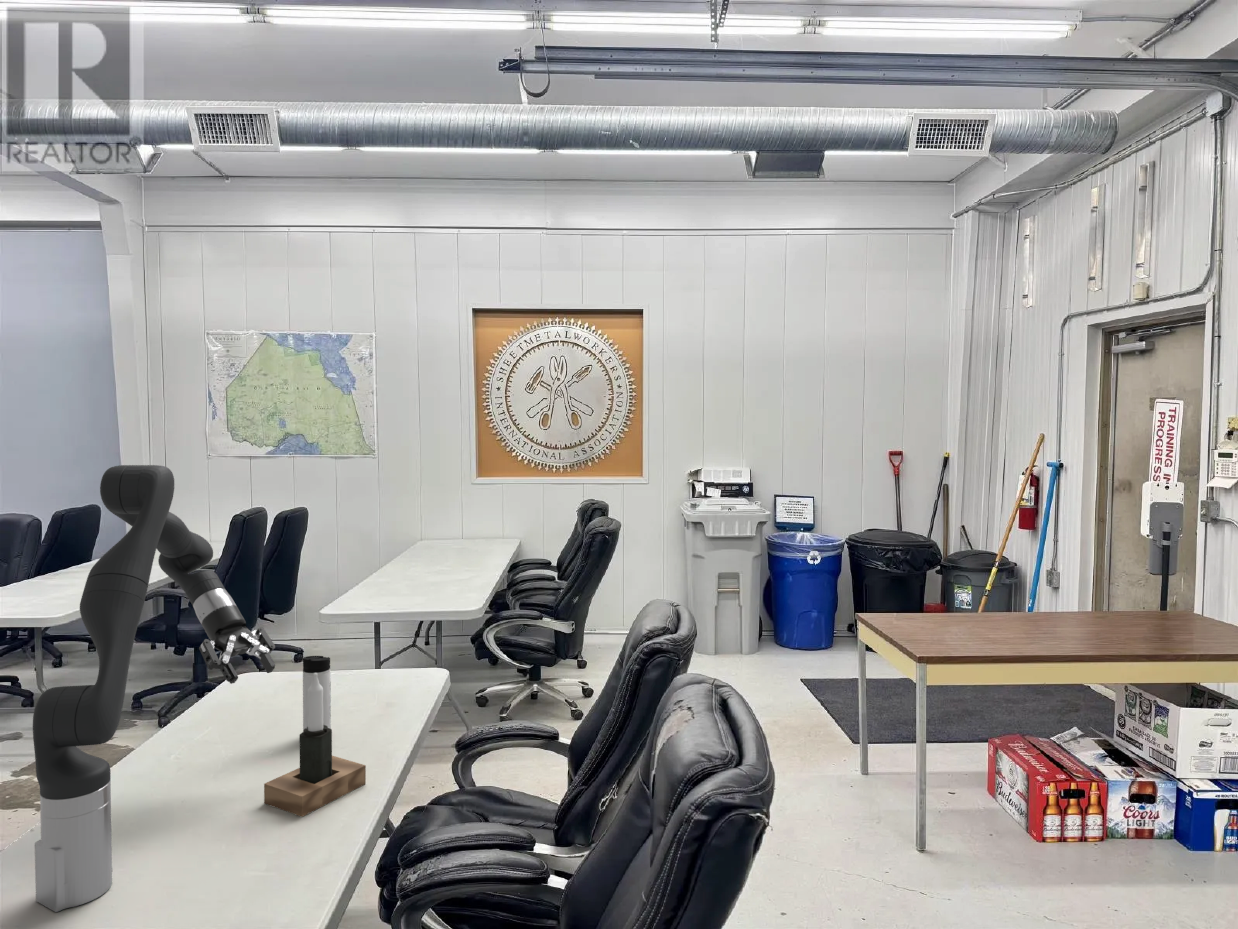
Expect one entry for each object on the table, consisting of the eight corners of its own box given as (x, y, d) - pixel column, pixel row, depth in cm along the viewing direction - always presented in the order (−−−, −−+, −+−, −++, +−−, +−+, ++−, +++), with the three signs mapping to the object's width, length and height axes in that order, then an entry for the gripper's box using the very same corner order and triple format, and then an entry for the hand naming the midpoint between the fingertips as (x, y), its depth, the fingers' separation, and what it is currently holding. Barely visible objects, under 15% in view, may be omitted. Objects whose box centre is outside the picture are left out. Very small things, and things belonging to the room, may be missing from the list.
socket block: (302, 817, 148) (302, 796, 148) (264, 803, 153) (264, 783, 153) (365, 784, 162) (365, 765, 162) (328, 772, 167) (328, 754, 167)
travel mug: (296, 739, 185) (295, 657, 184) (318, 730, 191) (318, 650, 190) (314, 745, 182) (313, 661, 181) (336, 735, 188) (336, 654, 187)
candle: (319, 800, 155) (318, 677, 154) (297, 797, 156) (296, 675, 155) (334, 789, 160) (333, 670, 159) (312, 786, 161) (312, 668, 160)
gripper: (194, 610, 159) (230, 674, 153) (256, 598, 171) (291, 656, 166) (179, 632, 161) (213, 696, 156) (241, 619, 174) (275, 677, 169)
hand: (253, 675), depth 161 cm, fingers open, 8 cm apart
